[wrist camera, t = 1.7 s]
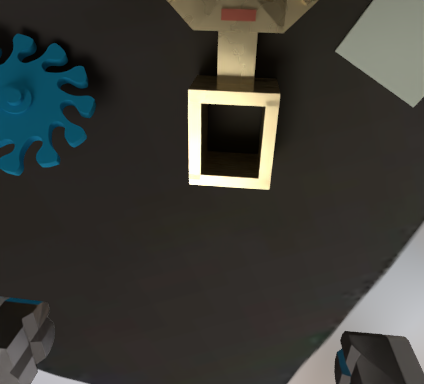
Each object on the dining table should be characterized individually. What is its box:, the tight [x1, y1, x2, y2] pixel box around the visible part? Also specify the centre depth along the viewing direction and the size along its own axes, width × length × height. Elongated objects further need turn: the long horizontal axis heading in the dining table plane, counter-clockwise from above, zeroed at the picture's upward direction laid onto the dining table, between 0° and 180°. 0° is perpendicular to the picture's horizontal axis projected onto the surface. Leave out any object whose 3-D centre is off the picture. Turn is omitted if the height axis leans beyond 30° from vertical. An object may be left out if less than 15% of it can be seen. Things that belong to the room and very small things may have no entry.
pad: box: [335, 0, 424, 107], centre depth 23 cm, size 7×7×1 cm
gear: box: [0, 34, 96, 175], centre depth 26 cm, size 11×6×10 cm
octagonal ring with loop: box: [167, 0, 318, 190], centre depth 21 cm, size 23×13×4 cm, turn 179°
